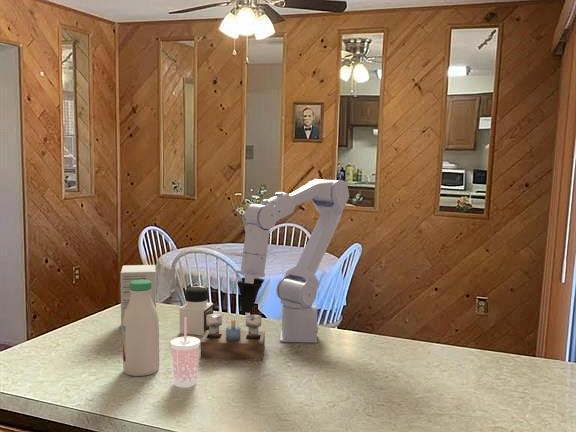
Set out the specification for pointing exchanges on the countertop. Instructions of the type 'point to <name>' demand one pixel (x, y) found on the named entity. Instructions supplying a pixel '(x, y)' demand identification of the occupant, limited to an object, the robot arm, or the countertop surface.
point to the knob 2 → (253, 326)
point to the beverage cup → (185, 359)
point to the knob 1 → (214, 325)
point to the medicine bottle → (195, 310)
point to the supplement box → (132, 274)
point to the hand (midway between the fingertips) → (247, 309)
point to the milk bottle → (140, 332)
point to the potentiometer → (233, 331)
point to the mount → (233, 347)
